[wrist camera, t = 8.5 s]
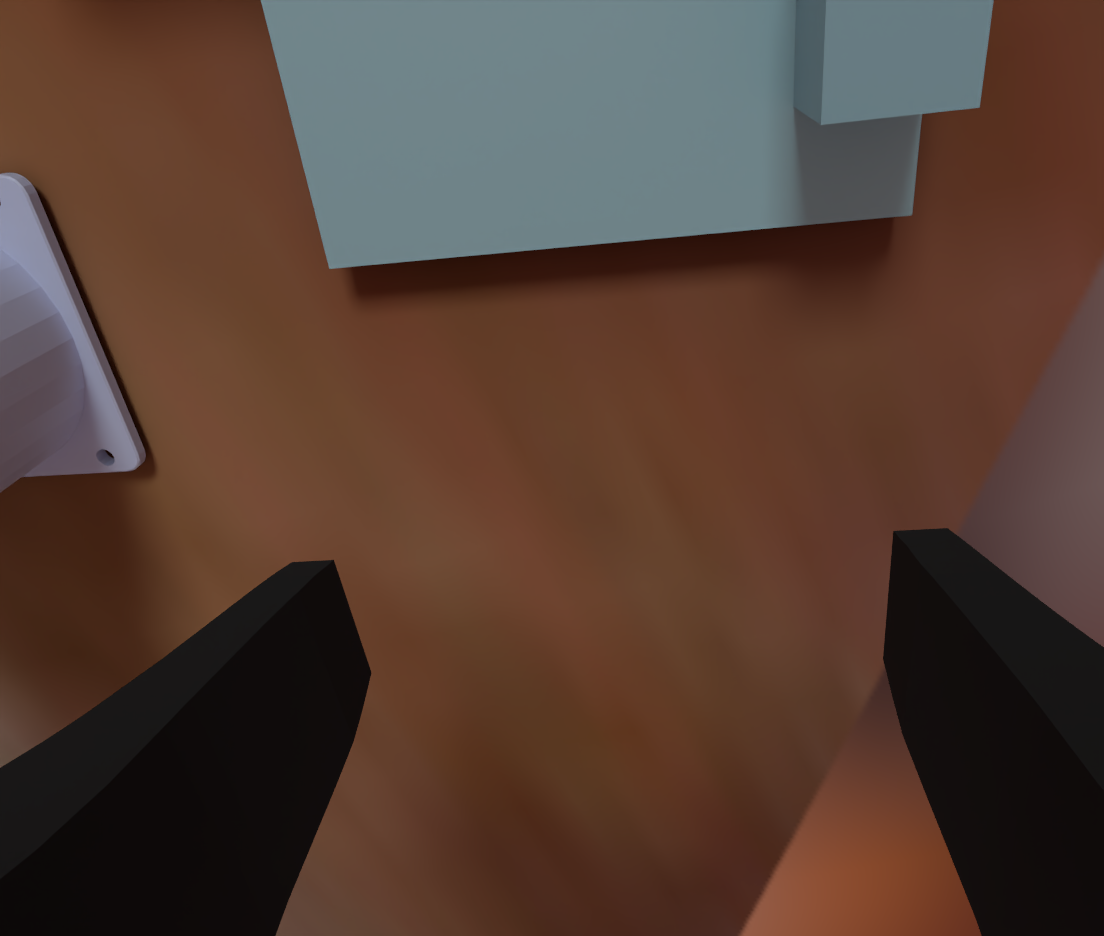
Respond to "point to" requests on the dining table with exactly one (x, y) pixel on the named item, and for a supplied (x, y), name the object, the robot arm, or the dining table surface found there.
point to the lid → (610, 116)
